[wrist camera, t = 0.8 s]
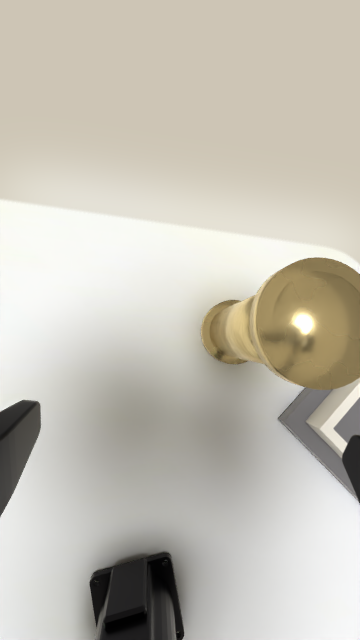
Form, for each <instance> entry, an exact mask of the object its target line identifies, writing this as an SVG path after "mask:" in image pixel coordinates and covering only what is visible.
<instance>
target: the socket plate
mask: <svg viewBox="0 0 360 640" xmlns="http://www.w3.org/2000/svg"><path fill="white" fill-rule="evenodd" d="M278 419H279V420H280V421H281V422H282V423H283V424H284V425H285V426H286V427H287V428H288V429H289V430H290V431H291V432H292V433H293V434H294V435H295V436H296V437H297V438H298V439H299V441H300V442H301V443H302V444H303V445H304V446H305V447H306V448H307V449H308V450H309V451H310V452H311V453H312V454H313V455H314V456H315V457H316V458H317V459H318V460H319V461H320V462H321V463H322V464H323V465H324V466H325V467H326V468H327V469H328V470H329V471H330V472H331V473H332V474H333V475H334V476H335V477H336V478H337V479H338V480H339V481H340V483H341V484H342V485H343V486H344V487H345V488H346V489H347V490H348V491H349V492H350V493H351V494H352V495H353V496H354V497H355V498H356V499H357V500H358V498H357V496H356V494H355V491H354V489H353V487H352V484H351V482H350V480H349V477H348V475H347V473H346V470H345V468H344V465H343V463H342V454H343V452H344V450H345V448H346V446H347V444H348V442H349V439H350V438H351V436H353V435H360V378H358V379H357V380H355V381H354V382H352V383H350V384H348V385H346V386H344V387H340V388H337V389H331V390H317V389H311V388H307V387H306V388H305V389H304V390H303V391H302V392H301V394H300V395H299V396H298V397H297V398H296V399H295V400H294V401H293V402H292V404H291V405H290V406H289V407H288V408H287V409H286V410H285V411H284V413H283V414H282V415H281V416H280V417H279V418H278Z"/></svg>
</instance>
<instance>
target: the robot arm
mask: <svg viewBox="0 0 360 640" xmlns="http://www.w3.org/2000/svg"><path fill="white" fill-rule="evenodd" d="M40 428H41V413H40V403H39V402H38V401H31V400H22V401H20V402H18V403H16V404H14V405H12V406H10V407H8V408H6V409H4V410H3V411H1V412H0V516H1V515H2V513H3V511H4V509H5V507H6V506H7V504H8V502H9V500H10V498H11V496H12V494H13V492H14V490H15V488H16V486H17V484H18V481H19V479H20V477H21V474H22V472H23V470H24V468H25V465H26V463H27V461H28V458H29V456H30V454H31V451H32V449H33V447H34V445H35V442H36V440H37V438H38V435H39V432H40ZM342 463H343V465H344V468H345V470H346V473H347V475H348V477H349V480H350V482H351V484H352V487H353V489H354V491H355V494H356V496H357V498H358V501H359V503H360V435H353V436H351V438H350V439H349V442H348V444H347V446H346V448H345V450H344V452H343V454H342ZM164 560H167V562H166V563H164V562H163V561H164ZM95 580H99V582H95ZM90 589H91V596H92V602H93V608H94V615H95V621H96V627H97V630H96V635H95V640H182V639H183V637H184V627H183V622H182V616H181V610H180V605H179V599H178V593H177V587H176V582H175V576H174V570H173V565H172V559H171V556H170V554H168V553H163V554H159V555H155V556H152V557H148V558H145V559H140V560H136V561H133V562H129V563H125V564H122V565H118V566H115V567H113V568H109V569H105V570H102V571H98V572H95V573H94V574H93V575H92V577H91V580H90ZM177 631H179V633H176V632H177Z"/></svg>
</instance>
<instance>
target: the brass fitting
mask: <svg viewBox="0 0 360 640" xmlns="http://www.w3.org/2000/svg"><path fill="white" fill-rule="evenodd" d="M201 337H202V341H203V344H204V346H205V348H206V350H207V351H208V352H209V353H210V354H211V355H212V356H213V357H214V358H216V359H217V360H219V361H222V362H225V363H228V364H241V363H244V362H247V361H253V362H257V363H262V364H265V365H266V366H267V367H268V368H269V369H270V370H271V371H272V372H273V373H274V374H276V375H277V376H279V377H280V378H282V379H284V380H286V381H288V382H290V383H294V384H297V385H300V386H303V387H307V388H311V389H317V390H331V389H337V388H340V387H344V386H346V385H348V384H350V383H352V382H354V381H355V380H357V379H358V378H360V274H359V273H358V272H356V271H355V270H354V269H352V268H351V267H349V266H348V265H346V264H343V263H341V262H339V261H336V260H333V259H327V258H307V259H303V260H299V261H297V262H294V263H292V264H290V265H288V266H287V267H285V268H283V269H281V270H279V271H278V272H276V273H274V274H273V275H272V276H270V277H269V278H268V279H267V280H266V281H265V282H264V283H263V285H262V286H261V287H260V288H259V290H258V292H257V294H256V295H254V296H252V297H250V298H247V299H245V300H243V301H238V300H228V301H224V302H221V303H219V304H218V305H216V306H214V307H213V308H211V309H210V310H209V312H208V313H207V314H206V316H205V317H204V320H203V322H202V326H201Z"/></svg>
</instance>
